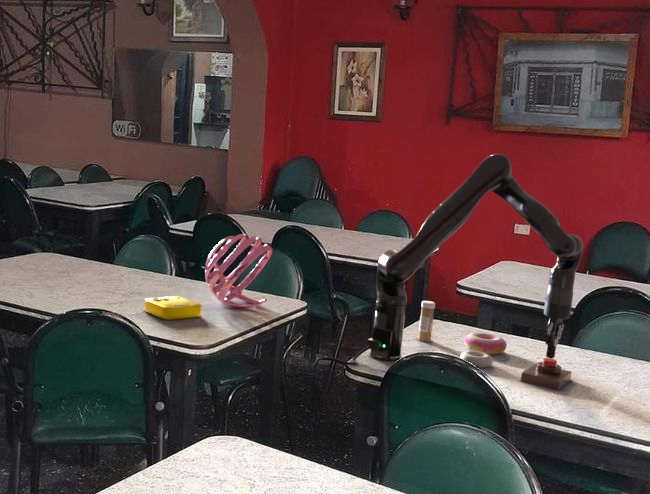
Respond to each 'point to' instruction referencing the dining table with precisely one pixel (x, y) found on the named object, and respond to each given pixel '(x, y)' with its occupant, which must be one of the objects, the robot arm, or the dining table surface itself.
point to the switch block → (546, 376)
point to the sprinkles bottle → (426, 321)
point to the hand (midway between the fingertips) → (550, 357)
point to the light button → (549, 362)
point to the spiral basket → (227, 282)
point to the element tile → (172, 307)
